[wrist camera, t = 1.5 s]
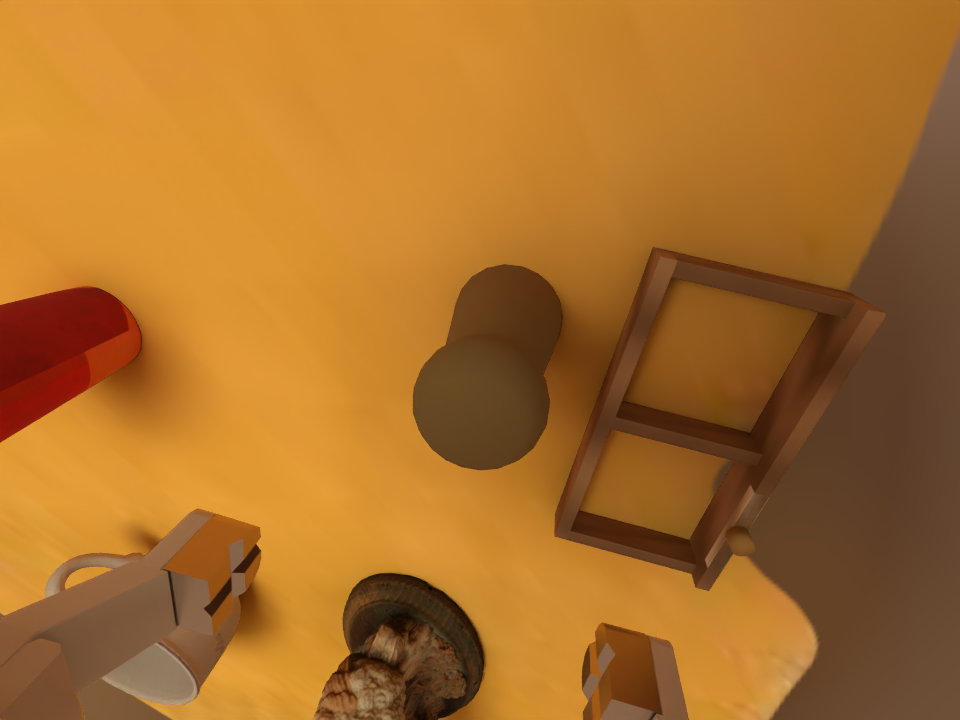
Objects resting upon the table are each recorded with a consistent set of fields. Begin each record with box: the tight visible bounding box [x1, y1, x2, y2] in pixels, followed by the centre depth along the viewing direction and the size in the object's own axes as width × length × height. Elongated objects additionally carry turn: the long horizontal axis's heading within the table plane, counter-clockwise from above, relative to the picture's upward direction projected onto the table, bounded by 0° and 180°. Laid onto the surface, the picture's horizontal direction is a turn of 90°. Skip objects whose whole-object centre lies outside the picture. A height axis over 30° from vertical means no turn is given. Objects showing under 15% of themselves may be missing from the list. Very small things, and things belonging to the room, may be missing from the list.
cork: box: [413, 265, 563, 470], centre depth 21 cm, size 6×6×11 cm
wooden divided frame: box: [555, 247, 887, 591], centre depth 25 cm, size 18×10×4 cm, turn 169°
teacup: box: [45, 553, 241, 705], centre depth 37 cm, size 14×11×8 cm
